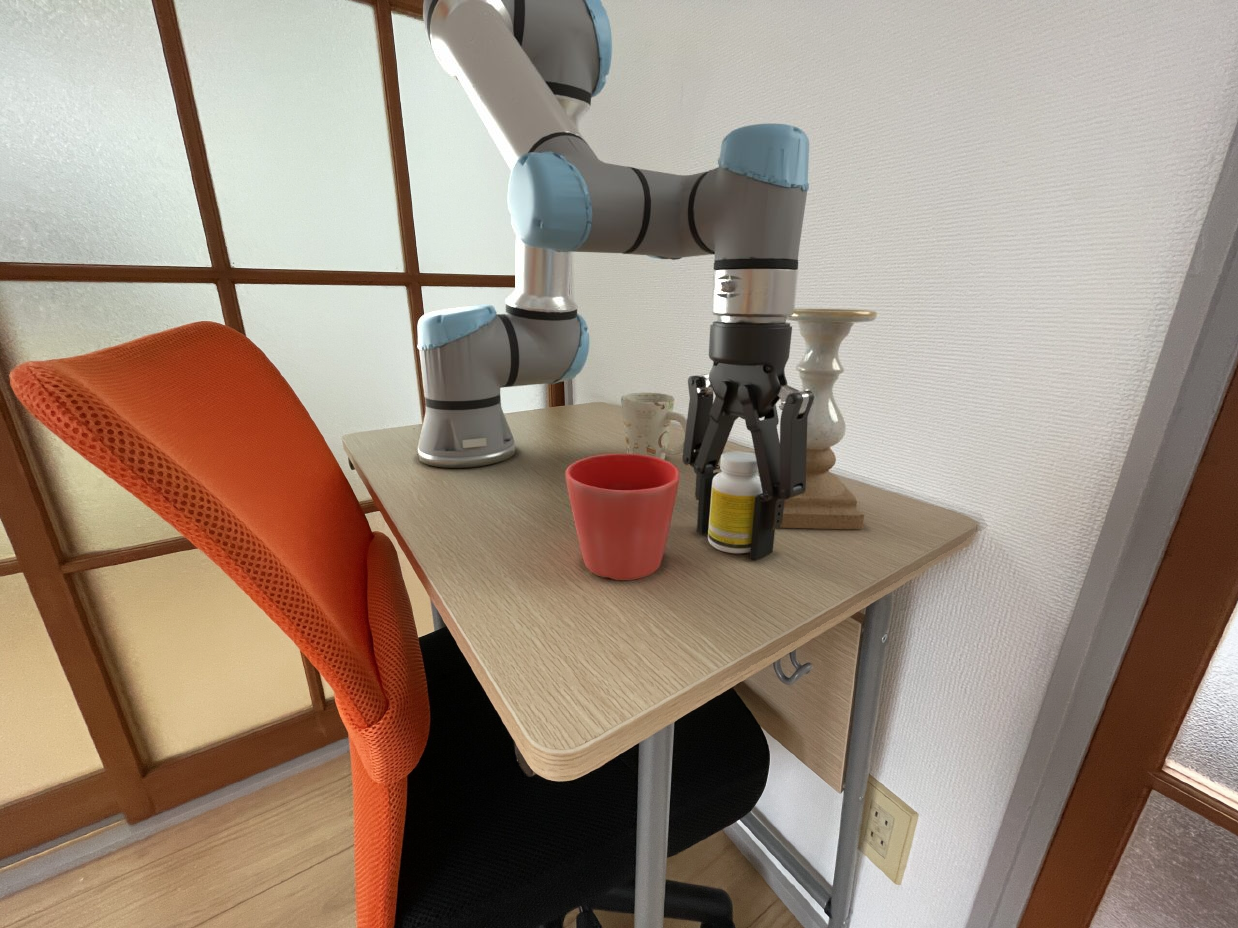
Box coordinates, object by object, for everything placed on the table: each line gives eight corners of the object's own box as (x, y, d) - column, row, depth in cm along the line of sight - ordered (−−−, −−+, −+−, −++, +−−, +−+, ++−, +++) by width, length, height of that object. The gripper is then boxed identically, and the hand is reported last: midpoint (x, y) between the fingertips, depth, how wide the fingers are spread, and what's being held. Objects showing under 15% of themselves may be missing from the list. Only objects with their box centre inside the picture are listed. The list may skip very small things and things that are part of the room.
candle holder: (767, 527, 60) (789, 311, 53) (749, 493, 71) (765, 308, 63) (864, 529, 60) (900, 312, 53) (831, 494, 70) (858, 308, 63)
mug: (639, 448, 91) (640, 390, 88) (704, 461, 84) (708, 399, 81) (610, 459, 85) (610, 398, 82) (678, 475, 78) (681, 408, 75)
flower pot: (597, 602, 46) (596, 498, 43) (552, 549, 55) (549, 461, 52) (697, 574, 50) (703, 478, 47) (640, 530, 60) (642, 447, 57)
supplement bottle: (760, 557, 54) (769, 466, 51) (706, 552, 55) (712, 462, 52) (757, 535, 59) (766, 450, 56) (708, 530, 60) (714, 447, 57)
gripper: (652, 316, 55) (647, 520, 62) (822, 326, 40) (790, 592, 47) (702, 315, 59) (692, 505, 66) (873, 323, 44) (836, 567, 51)
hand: (733, 541), depth 57 cm, fingers open, 7 cm apart
